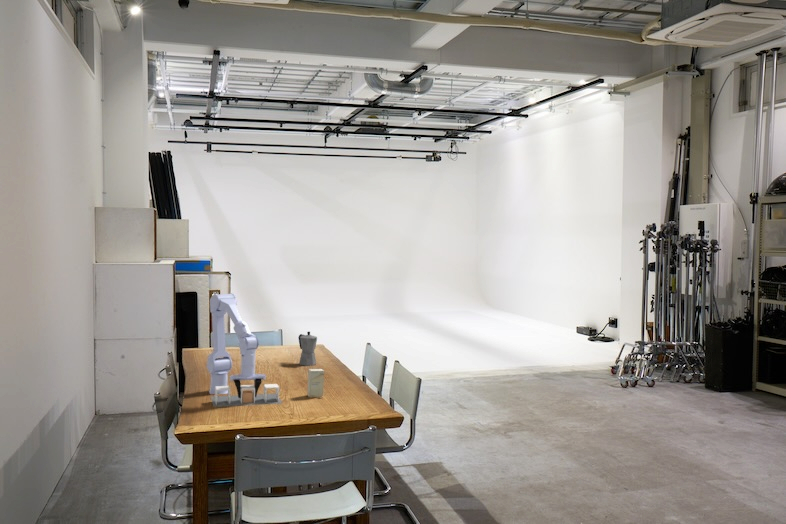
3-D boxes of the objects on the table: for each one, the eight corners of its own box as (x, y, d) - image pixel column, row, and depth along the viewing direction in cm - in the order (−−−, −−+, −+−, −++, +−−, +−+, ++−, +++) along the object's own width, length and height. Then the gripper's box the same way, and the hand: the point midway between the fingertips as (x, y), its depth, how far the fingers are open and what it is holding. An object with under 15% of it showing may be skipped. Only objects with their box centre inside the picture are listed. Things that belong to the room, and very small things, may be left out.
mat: (210, 397, 283) (210, 396, 283) (276, 394, 292) (276, 393, 292) (213, 408, 267) (213, 406, 267) (282, 404, 276) (282, 403, 276)
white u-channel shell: (239, 399, 279) (239, 385, 279) (252, 399, 281) (253, 384, 281) (241, 403, 273) (241, 388, 273) (254, 402, 275) (255, 388, 275)
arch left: (214, 401, 276) (215, 386, 276) (228, 400, 278) (229, 385, 277) (216, 404, 270) (216, 389, 270) (230, 404, 272) (230, 389, 272)
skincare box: (309, 398, 288) (310, 371, 287) (307, 396, 292) (307, 369, 291) (323, 397, 290) (324, 370, 289) (320, 395, 294) (321, 368, 294)
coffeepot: (322, 365, 360) (323, 332, 359) (308, 367, 354) (309, 333, 353) (305, 360, 371) (306, 328, 370) (291, 362, 365) (292, 330, 364)
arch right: (263, 398, 282) (263, 384, 282) (276, 398, 284) (276, 383, 284) (265, 402, 277) (265, 387, 276) (278, 401, 279) (279, 387, 278)
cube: (241, 400, 278) (241, 391, 278) (251, 399, 280) (251, 390, 280) (242, 402, 275) (243, 393, 274) (252, 402, 276) (252, 392, 276)
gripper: (231, 367, 270) (230, 400, 271) (266, 366, 275) (266, 398, 276) (229, 364, 277) (228, 396, 278) (264, 362, 282) (263, 394, 282)
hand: (247, 397), depth 277 cm, fingers open, 6 cm apart
